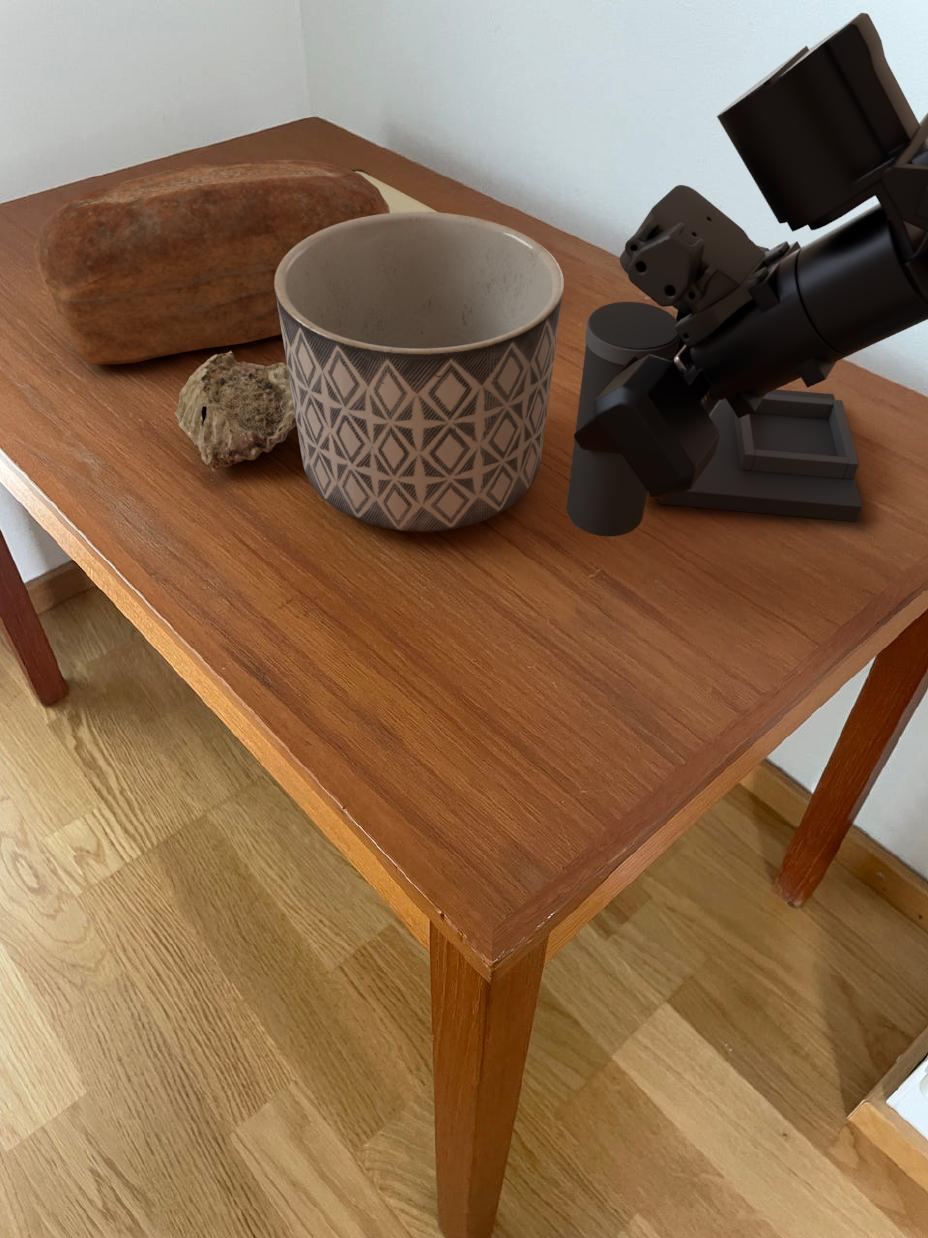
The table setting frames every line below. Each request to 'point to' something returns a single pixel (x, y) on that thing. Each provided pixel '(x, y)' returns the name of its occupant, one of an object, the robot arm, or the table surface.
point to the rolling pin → (395, 196)
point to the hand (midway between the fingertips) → (597, 418)
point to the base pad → (781, 460)
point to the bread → (188, 253)
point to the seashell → (236, 409)
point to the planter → (420, 365)
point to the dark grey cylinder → (598, 480)
